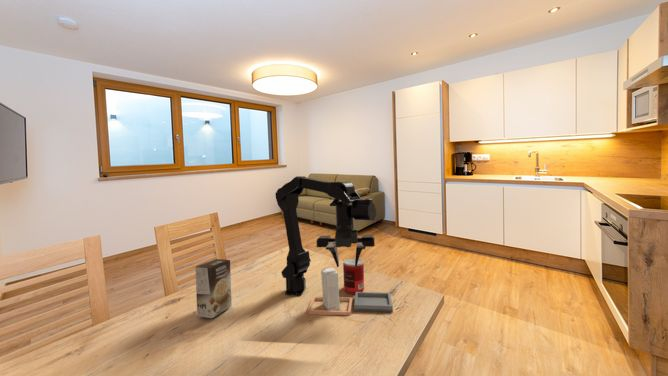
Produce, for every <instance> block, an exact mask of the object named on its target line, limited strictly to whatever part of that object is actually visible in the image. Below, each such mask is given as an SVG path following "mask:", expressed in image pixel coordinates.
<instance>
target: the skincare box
mask: <svg viewBox="0 0 668 376" xmlns="http://www.w3.org/2000/svg"><path fill="white" fill-rule="evenodd" d="M320 271H321V273H320V274H321V275H320V276H321V289H322V297H323V300H322V302H323V303H322V304H323V305H324V307H325V310H334V311H340V309H341V306H340V305H341V301H339V297H340V287H339V273H338V272H337V270H335V269H334V268H333V267H328V268H323V269H321V270H320Z"/></svg>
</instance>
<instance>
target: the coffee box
mask: <svg viewBox="0 0 668 376" xmlns="http://www.w3.org/2000/svg"><path fill="white" fill-rule="evenodd" d="M231 273H232V272H231V260H230V259H225V258H224V259H223V258H220V259H219V258H214V259H212V260H210V261H206V262H204V263H201V264H197V265H195V289H196V291H195V293H196V295H195V296H196V316H197V317H202V318H207V319H213V318H215V317H216V316H218V315H220V314H221V313H223V312H224V311H226V310H228V309H229V308H231V307H232V306H233V305H232V303H233V301H232V300H233V299H232V282H231V281H232V277H231V276H232V275H231Z"/></svg>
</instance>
